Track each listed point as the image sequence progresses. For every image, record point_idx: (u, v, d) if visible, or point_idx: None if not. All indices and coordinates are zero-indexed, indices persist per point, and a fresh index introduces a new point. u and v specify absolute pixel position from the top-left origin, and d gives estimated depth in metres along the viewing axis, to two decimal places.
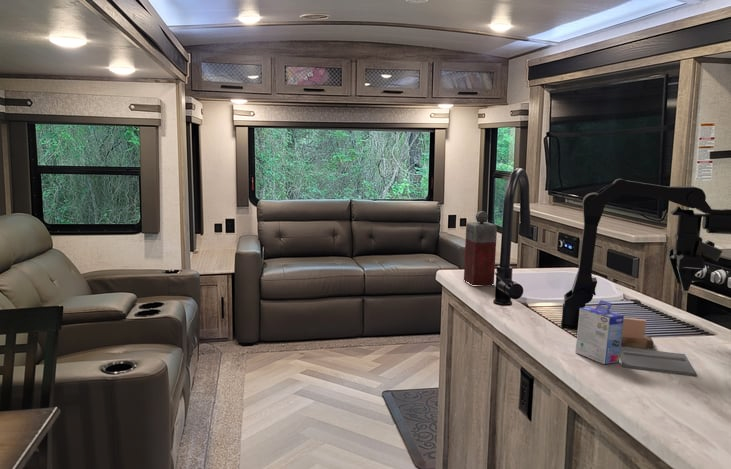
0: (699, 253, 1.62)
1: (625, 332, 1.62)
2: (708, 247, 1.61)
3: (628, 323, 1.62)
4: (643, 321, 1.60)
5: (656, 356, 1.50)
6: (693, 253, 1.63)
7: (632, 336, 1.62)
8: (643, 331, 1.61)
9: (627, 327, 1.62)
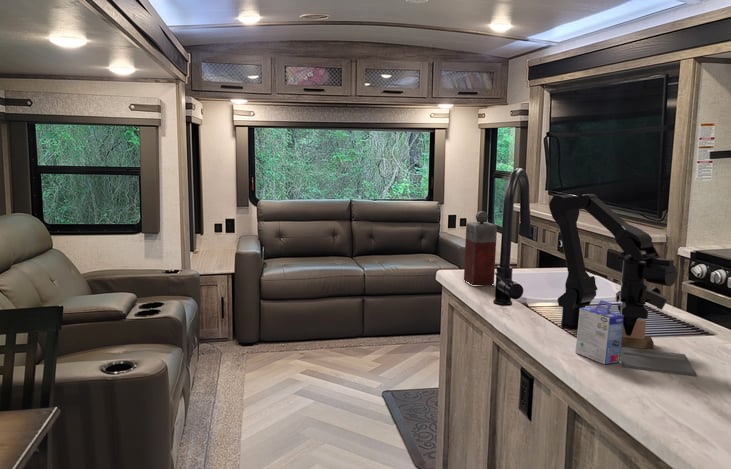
0: (643, 301, 1.58)
1: None
2: (652, 295, 1.57)
3: None
4: (643, 321, 1.60)
5: (656, 356, 1.50)
6: (637, 301, 1.58)
7: (632, 336, 1.62)
8: (643, 331, 1.61)
9: None
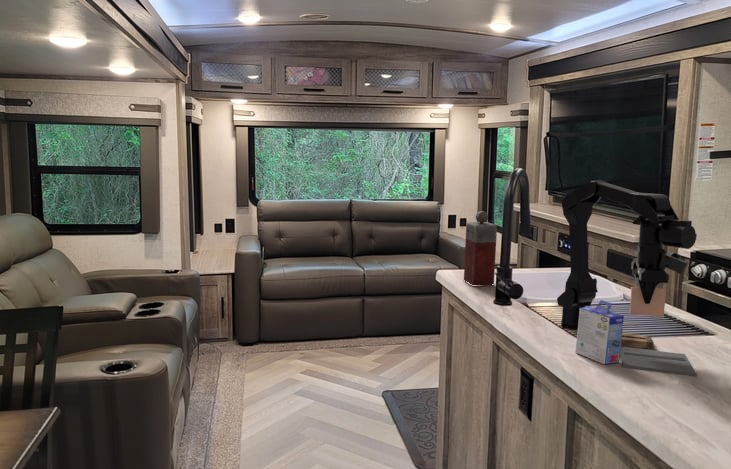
0: (663, 266, 1.50)
1: (644, 302, 1.54)
2: (672, 259, 1.49)
3: None
4: (663, 290, 1.52)
5: (656, 356, 1.50)
6: (656, 266, 1.50)
7: (651, 306, 1.54)
8: (663, 301, 1.53)
9: None
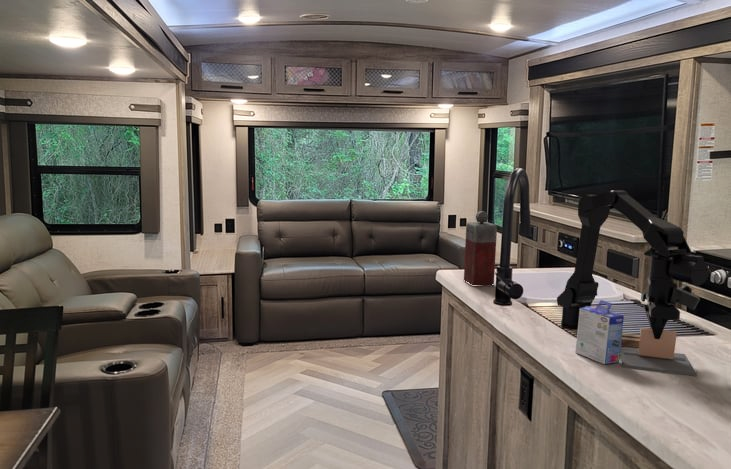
0: (674, 301, 1.44)
1: (653, 344, 1.49)
2: (684, 294, 1.44)
3: None
4: (673, 333, 1.47)
5: None
6: (667, 301, 1.45)
7: (661, 349, 1.49)
8: (673, 344, 1.48)
9: (656, 339, 1.49)
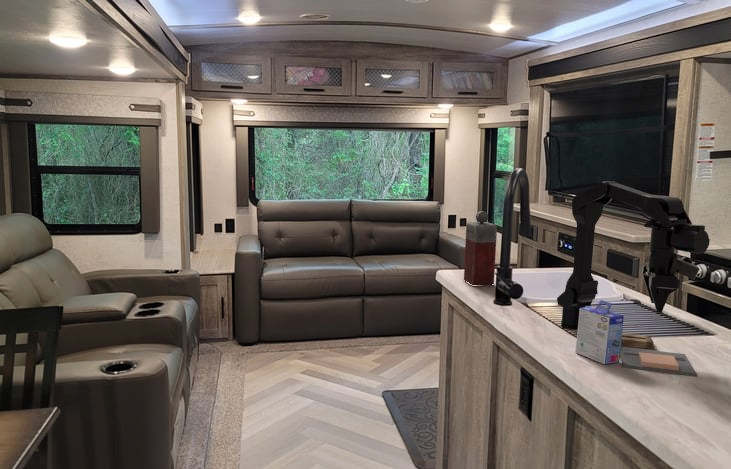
0: (674, 271, 1.46)
1: None
2: (684, 264, 1.46)
3: None
4: (675, 369, 1.42)
5: None
6: (667, 271, 1.47)
7: None
8: None
9: None
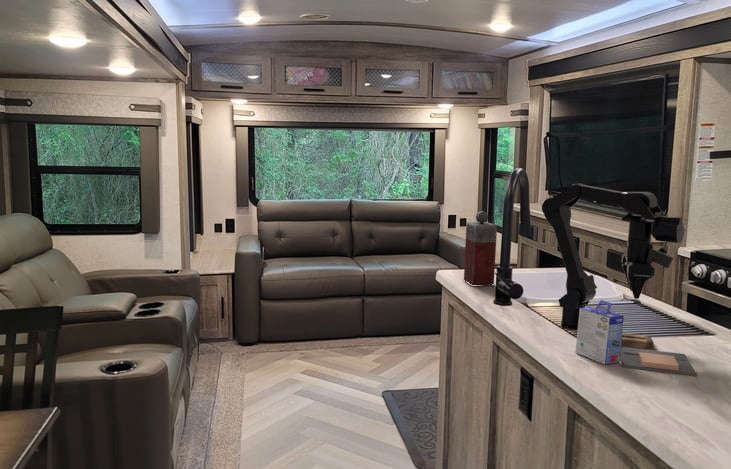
0: (650, 260, 1.58)
1: None
2: (659, 254, 1.58)
3: None
4: (675, 369, 1.42)
5: None
6: (644, 260, 1.59)
7: None
8: None
9: None
